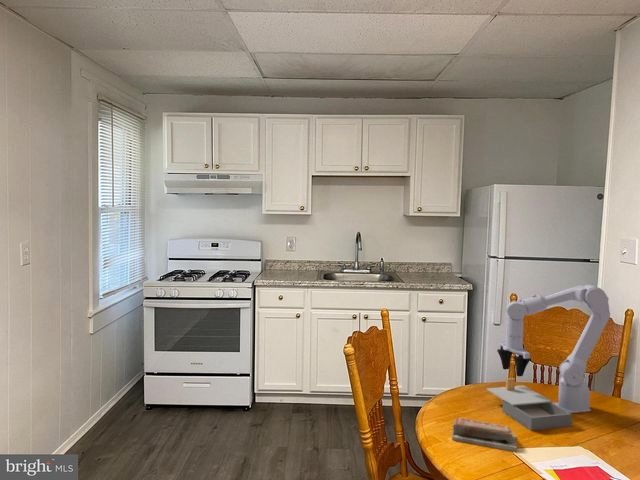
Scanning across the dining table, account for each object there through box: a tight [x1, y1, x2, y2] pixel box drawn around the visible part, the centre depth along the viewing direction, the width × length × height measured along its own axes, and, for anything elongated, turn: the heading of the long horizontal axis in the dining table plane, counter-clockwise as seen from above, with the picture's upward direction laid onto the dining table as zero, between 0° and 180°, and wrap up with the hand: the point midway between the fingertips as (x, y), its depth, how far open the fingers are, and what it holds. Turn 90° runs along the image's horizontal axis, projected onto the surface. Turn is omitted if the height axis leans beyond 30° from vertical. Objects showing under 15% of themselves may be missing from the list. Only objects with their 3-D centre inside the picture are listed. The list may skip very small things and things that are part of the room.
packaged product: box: [451, 417, 518, 452], centre depth 141 cm, size 18×5×10 cm
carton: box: [501, 399, 573, 432], centre depth 155 cm, size 15×14×4 cm
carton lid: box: [486, 377, 553, 406], centre depth 164 cm, size 15×14×4 cm
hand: (512, 372), depth 170 cm, fingers open, 7 cm apart
